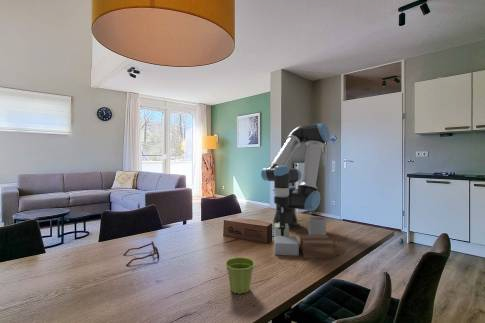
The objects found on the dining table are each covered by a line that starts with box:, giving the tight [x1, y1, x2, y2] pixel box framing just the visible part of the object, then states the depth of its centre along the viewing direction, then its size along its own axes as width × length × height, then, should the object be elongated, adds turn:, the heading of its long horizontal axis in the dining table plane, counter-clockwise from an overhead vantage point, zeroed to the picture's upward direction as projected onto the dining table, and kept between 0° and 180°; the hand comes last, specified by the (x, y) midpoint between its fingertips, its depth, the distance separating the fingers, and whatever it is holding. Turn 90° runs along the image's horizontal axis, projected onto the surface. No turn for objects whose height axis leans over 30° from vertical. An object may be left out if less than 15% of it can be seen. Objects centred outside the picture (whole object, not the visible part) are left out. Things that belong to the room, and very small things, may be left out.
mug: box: [306, 216, 327, 235], centre depth 133 cm, size 12×8×11 cm
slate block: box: [273, 235, 300, 256], centre depth 117 cm, size 10×10×5 cm
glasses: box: [123, 241, 160, 267], centre depth 110 cm, size 13×13×5 cm
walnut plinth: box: [299, 234, 334, 259], centre depth 115 cm, size 12×12×6 cm
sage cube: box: [274, 223, 290, 236], centre depth 134 cm, size 7×7×7 cm
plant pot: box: [225, 257, 256, 295], centre depth 83 cm, size 9×9×9 cm
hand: (281, 238), depth 134 cm, fingers open, 11 cm apart
